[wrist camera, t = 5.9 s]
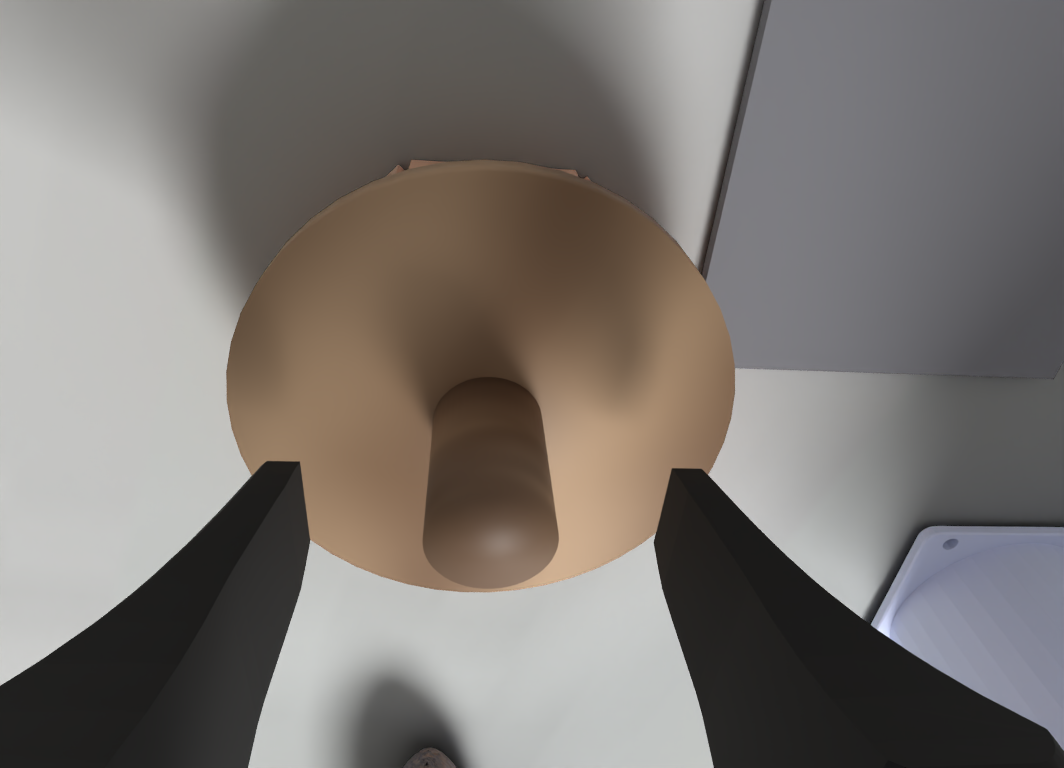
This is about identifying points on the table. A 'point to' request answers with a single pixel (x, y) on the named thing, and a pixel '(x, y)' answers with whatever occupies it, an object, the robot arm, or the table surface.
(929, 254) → the mat
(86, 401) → the table surface
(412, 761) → the perforated stone tool
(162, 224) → the table surface
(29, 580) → the table surface
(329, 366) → the lid
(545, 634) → the table surface
